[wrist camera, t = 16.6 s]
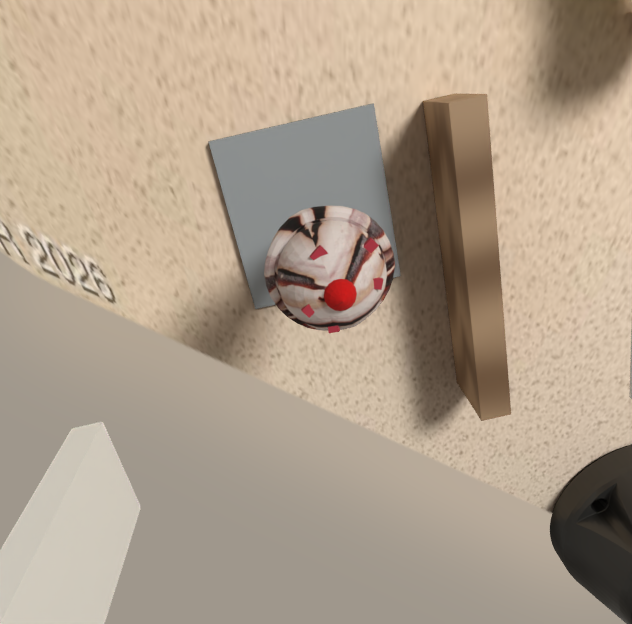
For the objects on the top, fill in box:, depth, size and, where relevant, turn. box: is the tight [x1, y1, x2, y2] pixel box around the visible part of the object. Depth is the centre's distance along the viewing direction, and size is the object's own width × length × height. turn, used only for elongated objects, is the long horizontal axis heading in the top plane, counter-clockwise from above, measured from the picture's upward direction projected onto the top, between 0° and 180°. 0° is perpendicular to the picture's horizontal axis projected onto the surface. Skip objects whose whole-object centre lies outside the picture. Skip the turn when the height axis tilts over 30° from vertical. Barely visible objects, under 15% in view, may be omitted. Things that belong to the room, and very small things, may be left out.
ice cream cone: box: [264, 206, 395, 333], centre depth 26 cm, size 6×6×15 cm
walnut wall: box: [423, 94, 511, 421], centre depth 33 cm, size 20×2×5 cm, turn 12°
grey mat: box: [209, 104, 401, 309], centre depth 34 cm, size 11×10×1 cm
